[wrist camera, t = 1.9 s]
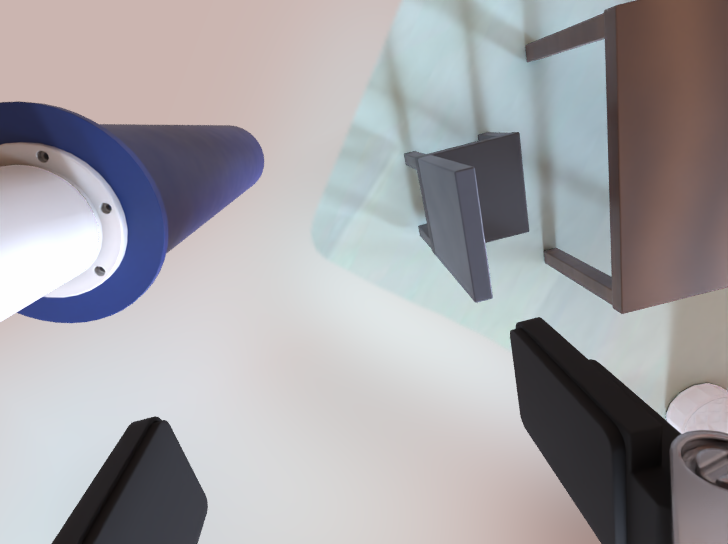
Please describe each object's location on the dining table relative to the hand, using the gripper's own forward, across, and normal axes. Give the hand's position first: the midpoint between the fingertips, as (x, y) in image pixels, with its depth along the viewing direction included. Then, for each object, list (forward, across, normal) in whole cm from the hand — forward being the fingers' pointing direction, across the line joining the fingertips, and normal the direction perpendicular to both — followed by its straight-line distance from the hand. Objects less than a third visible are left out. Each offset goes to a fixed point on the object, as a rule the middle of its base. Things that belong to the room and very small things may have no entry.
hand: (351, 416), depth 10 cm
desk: (+25, -23, 0) cm, 34 cm away
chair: (+25, -10, 0) cm, 27 cm away
